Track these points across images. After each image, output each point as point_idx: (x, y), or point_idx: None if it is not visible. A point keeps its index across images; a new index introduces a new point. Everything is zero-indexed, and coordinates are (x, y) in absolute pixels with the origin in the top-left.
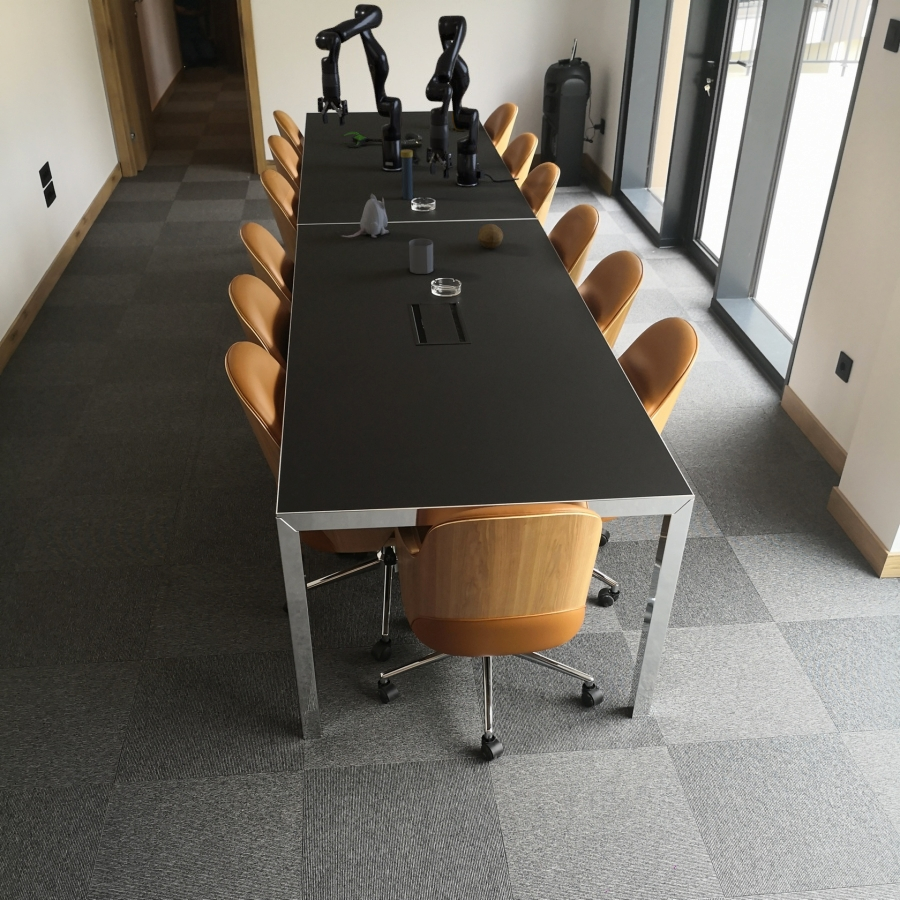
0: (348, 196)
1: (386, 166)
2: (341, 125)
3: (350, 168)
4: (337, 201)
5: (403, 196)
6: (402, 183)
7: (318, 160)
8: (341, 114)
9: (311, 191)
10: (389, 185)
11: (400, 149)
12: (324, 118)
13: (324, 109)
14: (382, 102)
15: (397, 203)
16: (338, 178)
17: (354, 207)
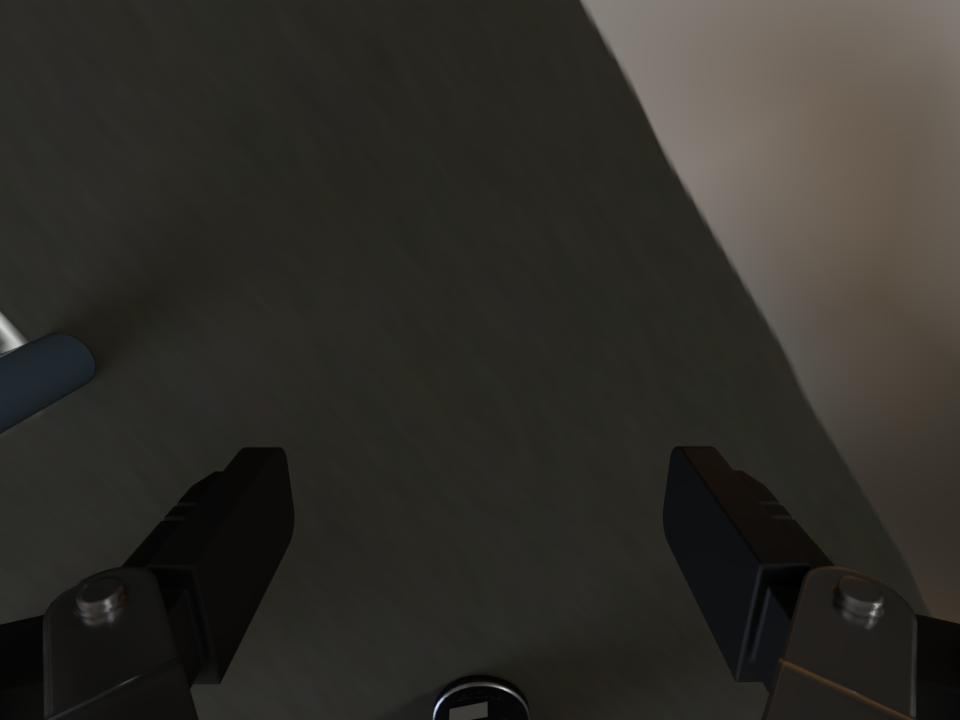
0: (377, 218)
1: (485, 697)
2: (246, 454)
3: (681, 642)
4: (366, 83)
5: (59, 340)
6: (8, 373)
7: None
8: (41, 629)
9: (651, 189)
10: (319, 505)
11: None
12: (720, 504)
13: (812, 692)
14: None
15: (34, 248)
16: (644, 483)
17: (179, 21)
